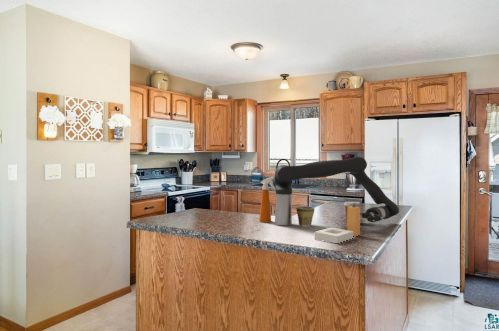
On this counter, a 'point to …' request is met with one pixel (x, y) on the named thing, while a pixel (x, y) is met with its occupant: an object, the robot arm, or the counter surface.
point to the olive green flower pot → (305, 215)
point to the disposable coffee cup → (349, 204)
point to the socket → (334, 235)
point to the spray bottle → (265, 200)
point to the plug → (353, 219)
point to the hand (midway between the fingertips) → (360, 217)
